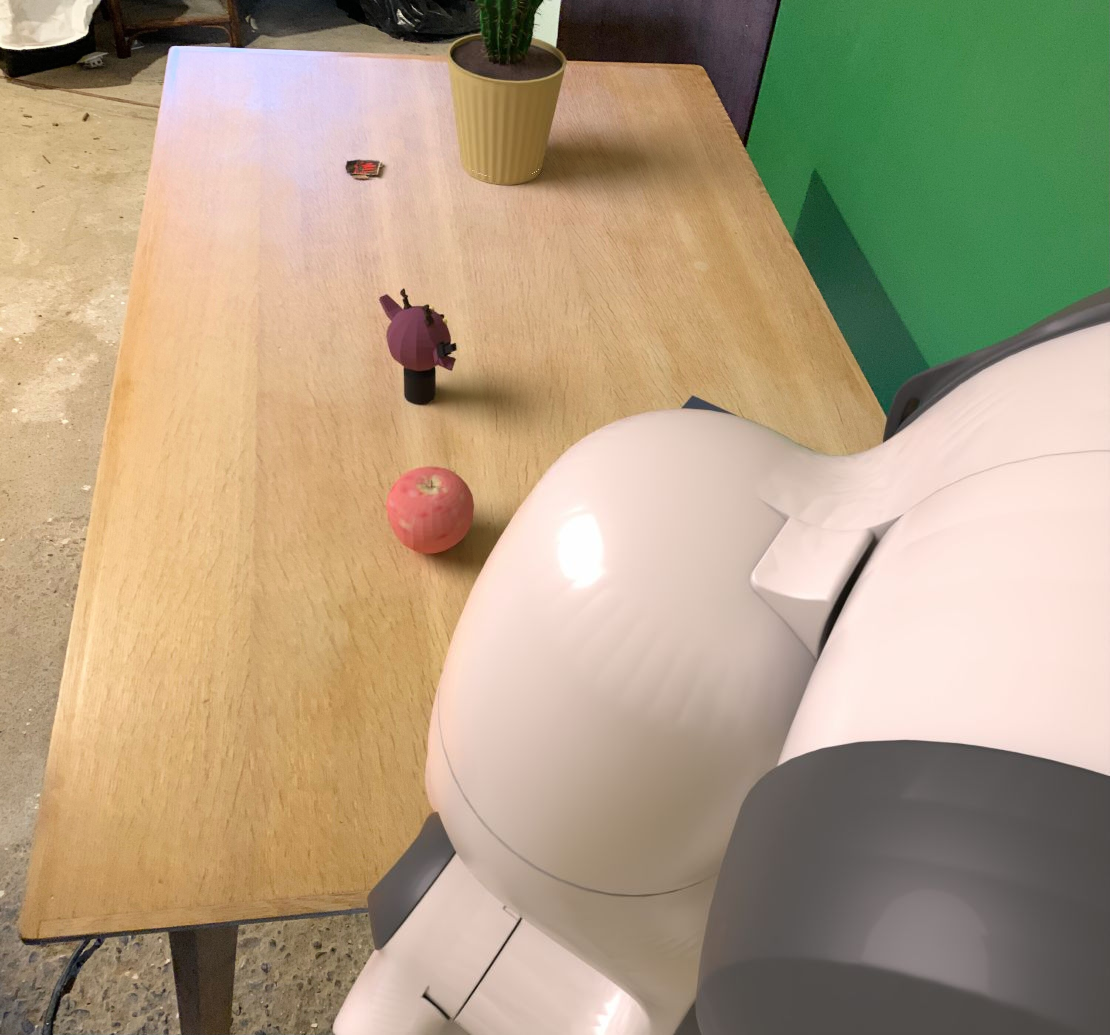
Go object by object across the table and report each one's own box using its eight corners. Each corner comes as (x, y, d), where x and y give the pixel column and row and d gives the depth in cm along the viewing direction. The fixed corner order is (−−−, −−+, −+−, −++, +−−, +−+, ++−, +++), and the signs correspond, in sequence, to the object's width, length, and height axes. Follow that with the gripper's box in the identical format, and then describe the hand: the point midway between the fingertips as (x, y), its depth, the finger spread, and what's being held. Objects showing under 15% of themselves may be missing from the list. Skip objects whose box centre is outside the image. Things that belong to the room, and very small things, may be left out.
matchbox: (343, 162, 129) (343, 159, 128) (381, 160, 130) (381, 157, 130) (348, 179, 126) (348, 176, 125) (387, 177, 127) (387, 174, 127)
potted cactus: (467, 199, 125) (473, -54, 103) (431, 144, 134) (429, -99, 112) (573, 185, 130) (601, -59, 108) (531, 134, 139) (549, -101, 117)
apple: (486, 555, 84) (489, 493, 78) (408, 582, 82) (406, 519, 76) (452, 499, 88) (453, 437, 83) (377, 523, 86) (373, 459, 80)
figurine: (455, 422, 96) (457, 325, 87) (375, 418, 95) (369, 319, 86) (459, 372, 101) (461, 275, 92) (383, 367, 100) (378, 270, 92)
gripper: (683, 919, 56) (773, 745, 65) (407, 742, 62) (522, 605, 71) (665, 954, 61) (750, 788, 69) (409, 787, 67) (516, 653, 75)
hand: (633, 694), depth 70 cm, fingers closed
